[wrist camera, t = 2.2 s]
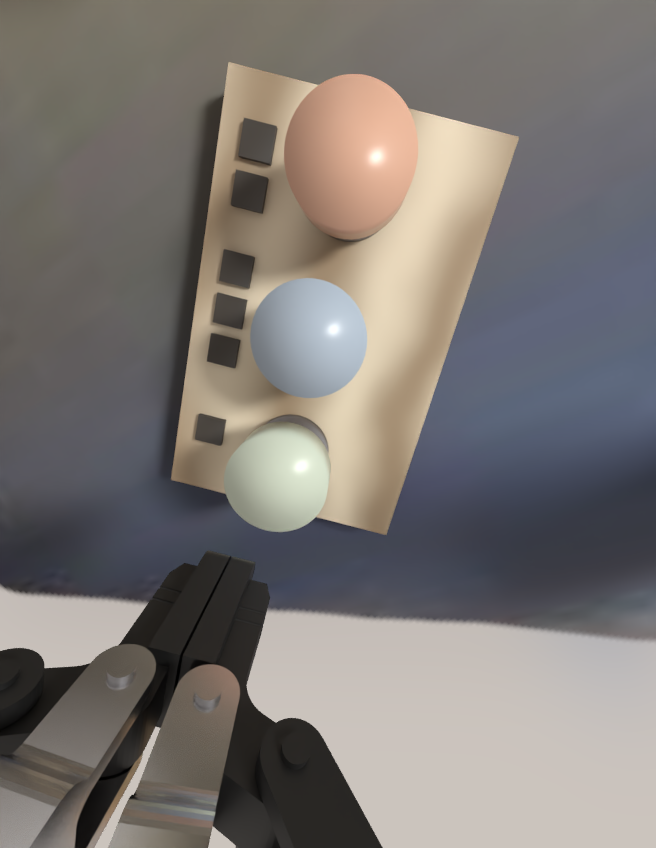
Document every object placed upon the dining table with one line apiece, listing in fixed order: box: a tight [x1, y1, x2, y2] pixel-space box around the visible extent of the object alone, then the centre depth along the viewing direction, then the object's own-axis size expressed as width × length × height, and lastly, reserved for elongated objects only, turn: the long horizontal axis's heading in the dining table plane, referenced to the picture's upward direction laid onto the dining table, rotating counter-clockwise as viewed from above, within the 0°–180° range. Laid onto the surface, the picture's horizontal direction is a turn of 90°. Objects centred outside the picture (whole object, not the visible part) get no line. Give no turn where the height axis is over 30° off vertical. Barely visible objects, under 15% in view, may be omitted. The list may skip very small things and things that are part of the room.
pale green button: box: [224, 422, 331, 532], centre depth 20 cm, size 5×5×2 cm
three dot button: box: [250, 278, 367, 398], centre depth 18 cm, size 5×5×2 cm
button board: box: [171, 62, 519, 535], centre depth 22 cm, size 14×22×3 cm, turn 166°
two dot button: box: [284, 74, 418, 240], centre depth 16 cm, size 5×5×2 cm
